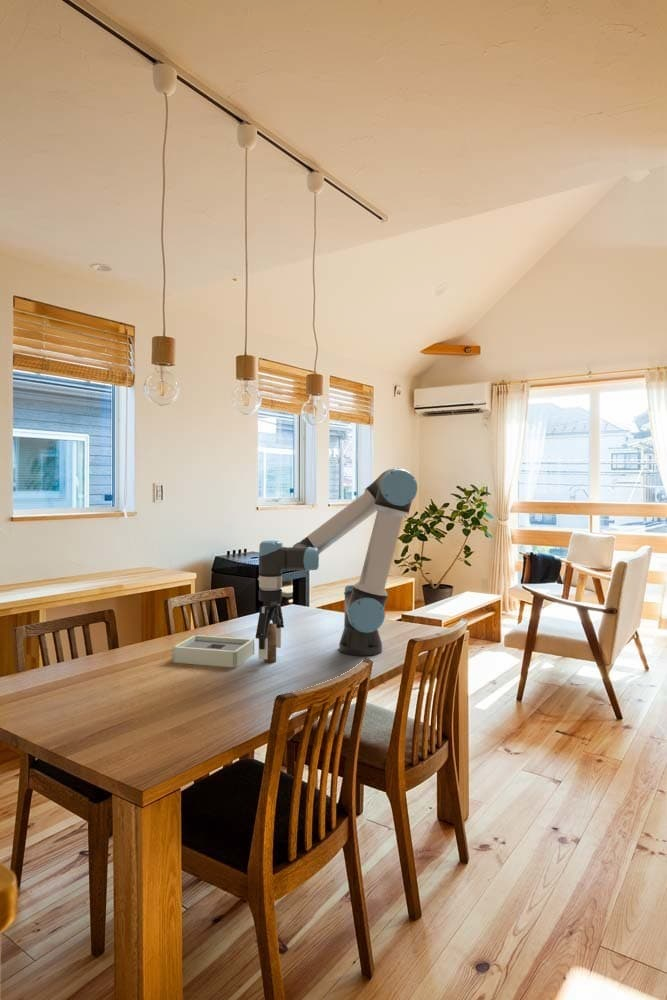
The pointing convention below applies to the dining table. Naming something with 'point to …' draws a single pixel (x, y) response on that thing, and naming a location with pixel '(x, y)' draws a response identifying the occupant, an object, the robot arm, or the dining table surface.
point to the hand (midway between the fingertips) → (270, 652)
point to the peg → (271, 644)
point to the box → (213, 651)
